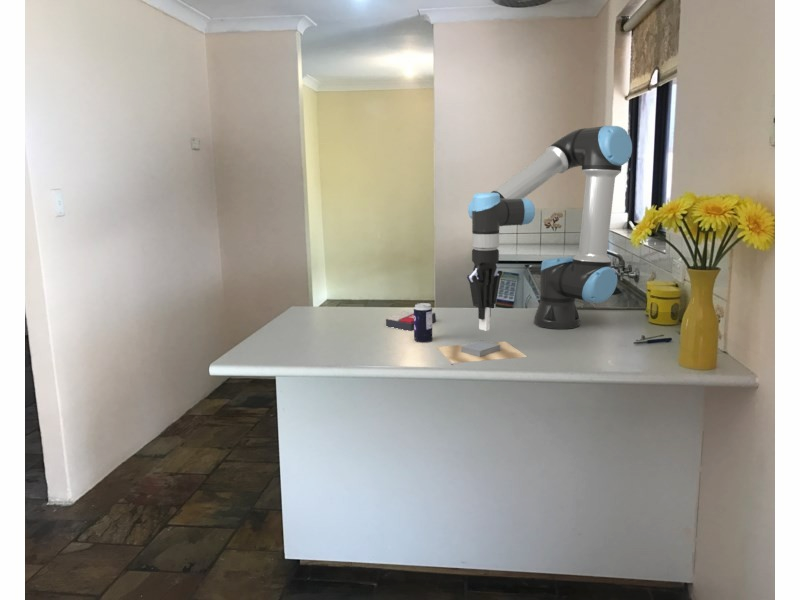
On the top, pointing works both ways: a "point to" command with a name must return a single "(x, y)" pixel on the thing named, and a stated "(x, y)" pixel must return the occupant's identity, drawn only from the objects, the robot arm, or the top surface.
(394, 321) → the calculator
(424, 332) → the beverage can
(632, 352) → the top surface
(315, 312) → the top surface
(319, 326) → the top surface
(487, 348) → the slate tile
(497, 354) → the cork mat
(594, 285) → the robot arm
